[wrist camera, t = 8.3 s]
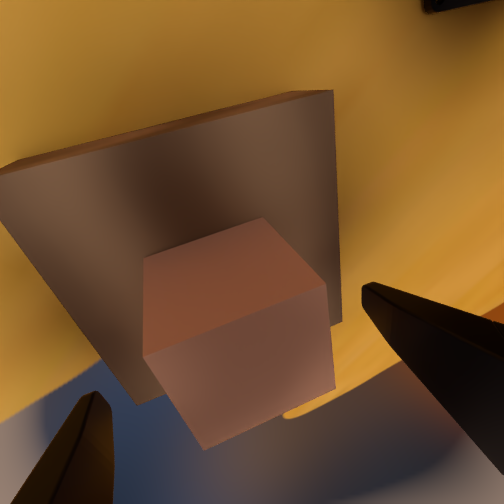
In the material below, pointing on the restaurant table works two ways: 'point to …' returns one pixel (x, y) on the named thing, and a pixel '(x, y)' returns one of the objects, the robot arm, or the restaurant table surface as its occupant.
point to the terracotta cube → (236, 330)
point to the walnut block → (173, 209)
